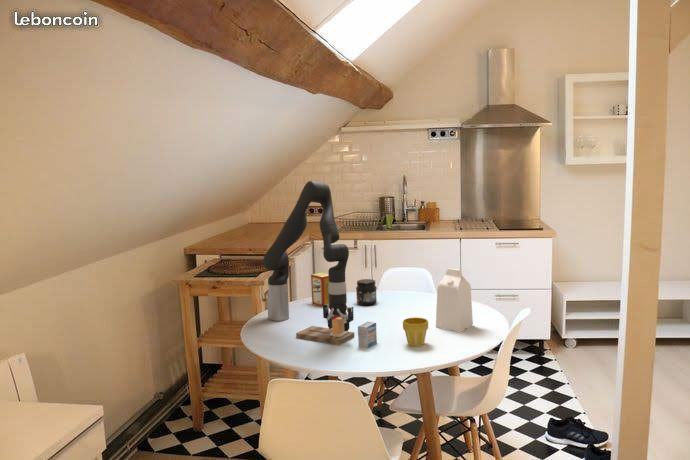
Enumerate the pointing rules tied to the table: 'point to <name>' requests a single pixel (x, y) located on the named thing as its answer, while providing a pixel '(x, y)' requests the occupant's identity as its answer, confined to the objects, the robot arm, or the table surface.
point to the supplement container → (366, 292)
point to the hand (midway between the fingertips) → (338, 329)
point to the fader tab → (338, 327)
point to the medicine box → (367, 334)
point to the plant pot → (415, 330)
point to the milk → (454, 302)
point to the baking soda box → (320, 289)
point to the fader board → (323, 335)
